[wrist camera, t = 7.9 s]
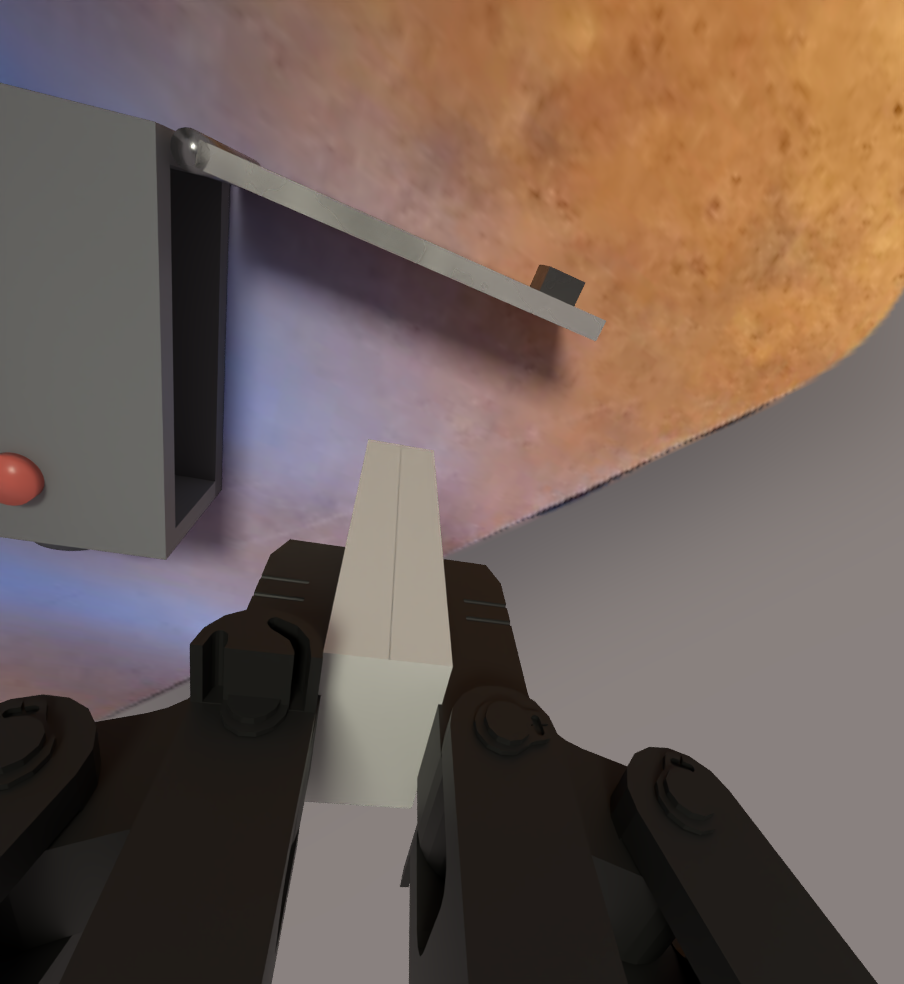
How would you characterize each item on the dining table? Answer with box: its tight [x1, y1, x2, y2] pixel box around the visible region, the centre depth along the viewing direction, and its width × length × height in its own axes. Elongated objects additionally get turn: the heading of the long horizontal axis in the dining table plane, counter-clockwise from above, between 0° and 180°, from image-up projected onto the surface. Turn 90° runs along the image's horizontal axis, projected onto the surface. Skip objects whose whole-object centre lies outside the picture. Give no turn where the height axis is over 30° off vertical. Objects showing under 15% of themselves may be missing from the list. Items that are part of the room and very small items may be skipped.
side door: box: [170, 127, 606, 341], centre depth 21 cm, size 16×2×6 cm, turn 68°
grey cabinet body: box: [0, 83, 230, 560], centre depth 21 cm, size 17×9×8 cm, turn 168°
